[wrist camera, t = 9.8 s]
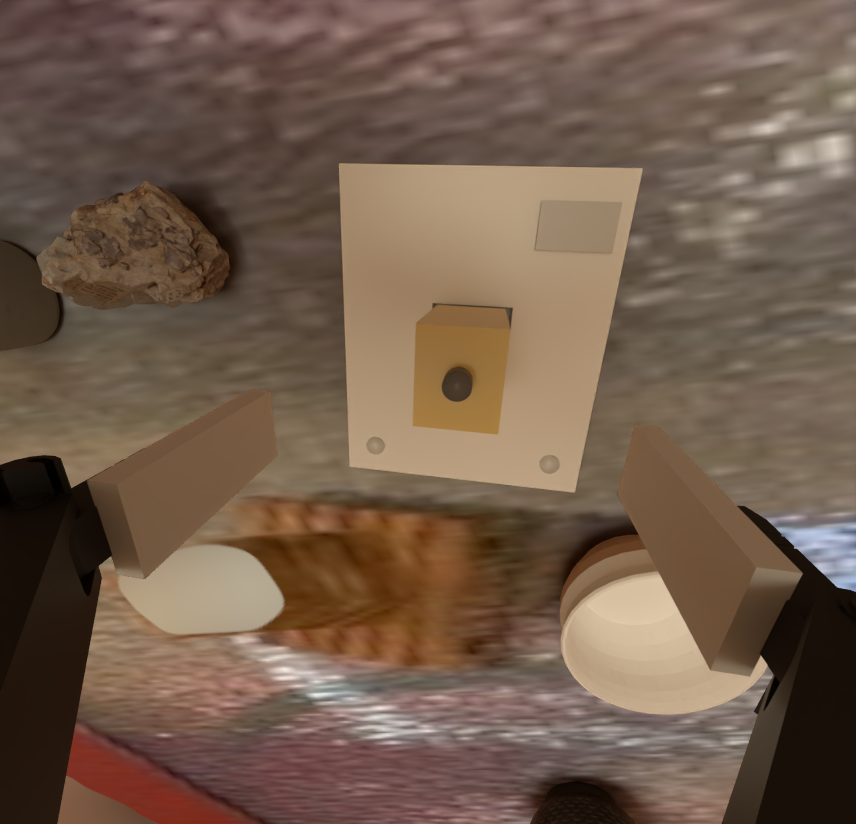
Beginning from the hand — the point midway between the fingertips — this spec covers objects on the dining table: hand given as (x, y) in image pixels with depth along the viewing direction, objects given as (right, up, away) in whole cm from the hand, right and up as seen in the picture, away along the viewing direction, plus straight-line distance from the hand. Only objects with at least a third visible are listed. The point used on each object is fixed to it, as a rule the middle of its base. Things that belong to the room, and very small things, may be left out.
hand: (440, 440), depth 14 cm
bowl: (+20, -16, +25) cm, 36 cm away
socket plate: (+3, +7, +19) cm, 21 cm away
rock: (-21, +14, +20) cm, 33 cm away
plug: (+3, +7, +19) cm, 20 cm away
